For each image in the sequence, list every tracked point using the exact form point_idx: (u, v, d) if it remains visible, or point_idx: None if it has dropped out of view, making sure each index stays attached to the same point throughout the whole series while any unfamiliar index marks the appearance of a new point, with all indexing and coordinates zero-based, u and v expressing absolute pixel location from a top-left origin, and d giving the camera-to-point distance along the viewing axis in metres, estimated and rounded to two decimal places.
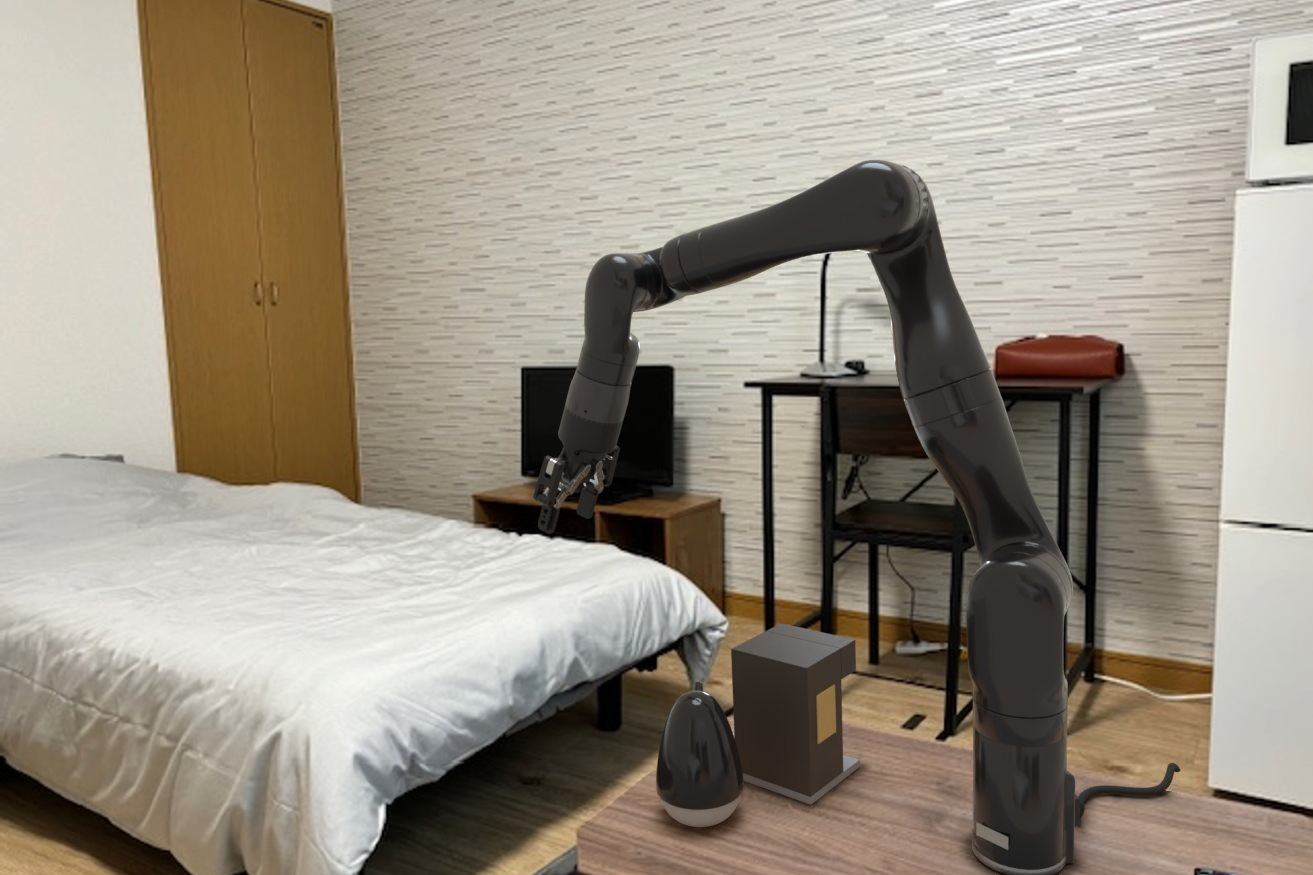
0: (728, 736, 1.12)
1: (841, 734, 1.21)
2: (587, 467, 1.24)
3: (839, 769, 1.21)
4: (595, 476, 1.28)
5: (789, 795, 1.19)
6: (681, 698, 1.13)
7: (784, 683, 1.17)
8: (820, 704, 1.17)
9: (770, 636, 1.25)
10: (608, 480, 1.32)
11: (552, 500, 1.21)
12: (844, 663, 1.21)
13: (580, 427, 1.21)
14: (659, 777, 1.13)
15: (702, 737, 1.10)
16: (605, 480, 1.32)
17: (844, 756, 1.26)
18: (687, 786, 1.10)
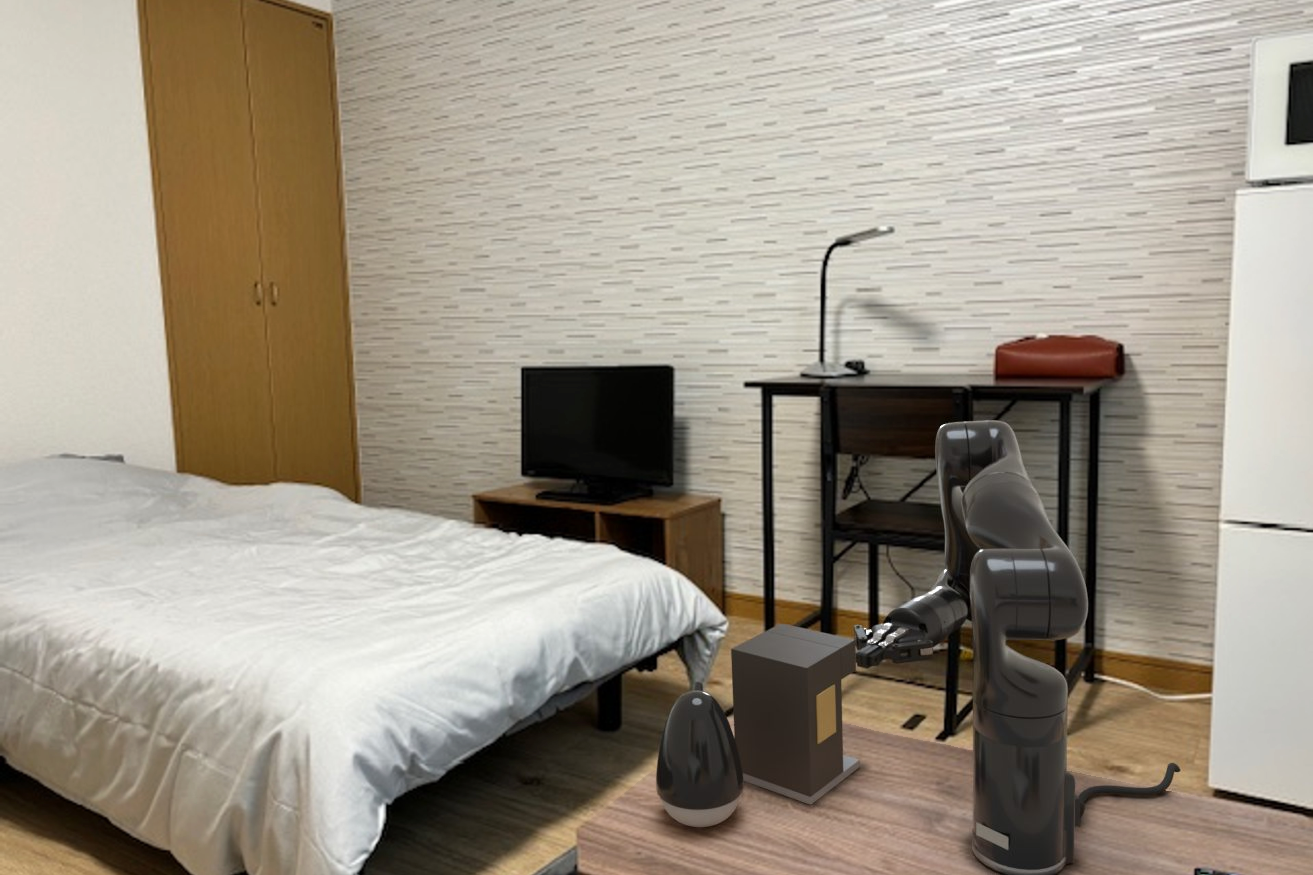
0: (728, 736, 1.12)
1: (841, 734, 1.21)
2: (888, 623, 1.44)
3: (839, 769, 1.21)
4: None
5: (789, 795, 1.19)
6: (681, 698, 1.13)
7: (784, 683, 1.17)
8: (820, 704, 1.17)
9: (770, 636, 1.25)
10: (898, 644, 1.37)
11: (864, 637, 1.41)
12: (844, 663, 1.21)
13: None
14: (659, 777, 1.13)
15: (702, 737, 1.10)
16: None
17: (844, 756, 1.26)
18: (687, 785, 1.10)
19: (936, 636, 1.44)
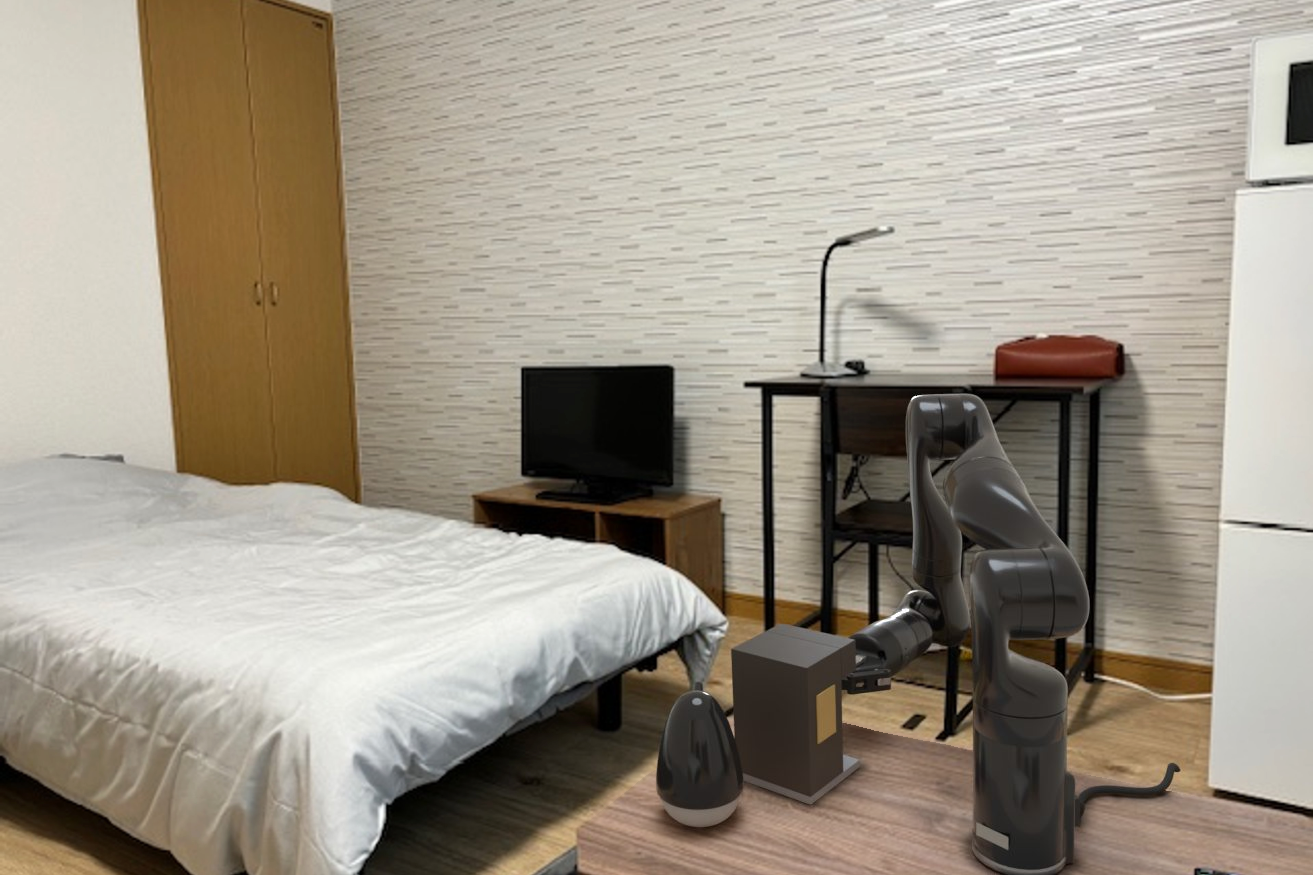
0: (728, 736, 1.12)
1: (841, 734, 1.21)
2: None
3: (839, 769, 1.21)
4: None
5: (789, 795, 1.19)
6: (681, 698, 1.13)
7: (784, 683, 1.17)
8: (820, 704, 1.17)
9: (770, 636, 1.25)
10: (853, 673, 1.28)
11: None
12: (844, 663, 1.21)
13: None
14: (659, 777, 1.13)
15: (702, 737, 1.10)
16: None
17: (844, 756, 1.26)
18: (687, 785, 1.10)
19: (896, 663, 1.35)
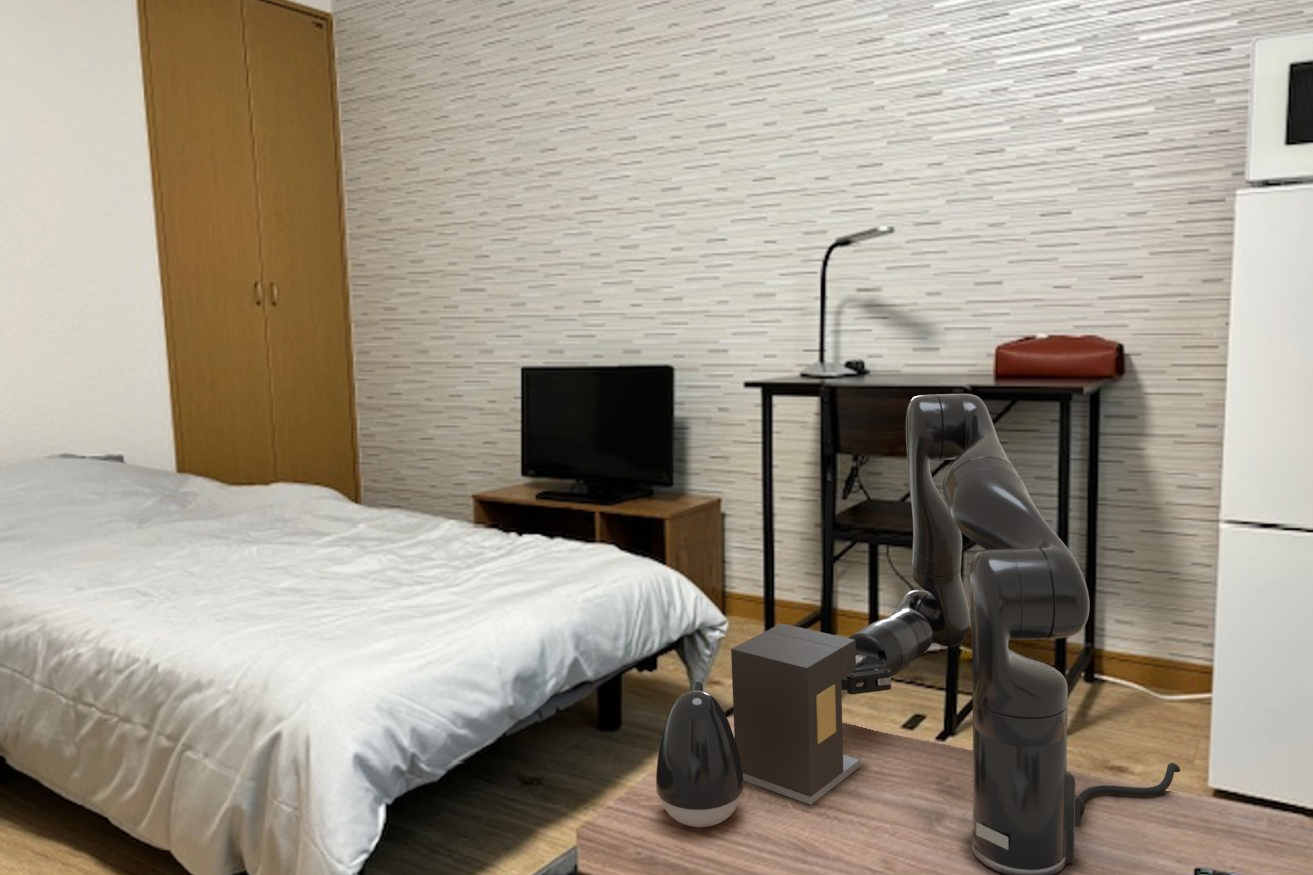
0: (728, 736, 1.12)
1: (841, 734, 1.21)
2: None
3: (839, 769, 1.21)
4: None
5: (789, 795, 1.19)
6: (681, 698, 1.13)
7: (784, 683, 1.17)
8: (820, 704, 1.17)
9: (770, 636, 1.25)
10: (853, 673, 1.28)
11: None
12: (844, 663, 1.21)
13: None
14: (659, 777, 1.13)
15: (702, 737, 1.10)
16: (848, 675, 1.28)
17: (844, 756, 1.26)
18: (687, 785, 1.10)
19: (896, 663, 1.35)
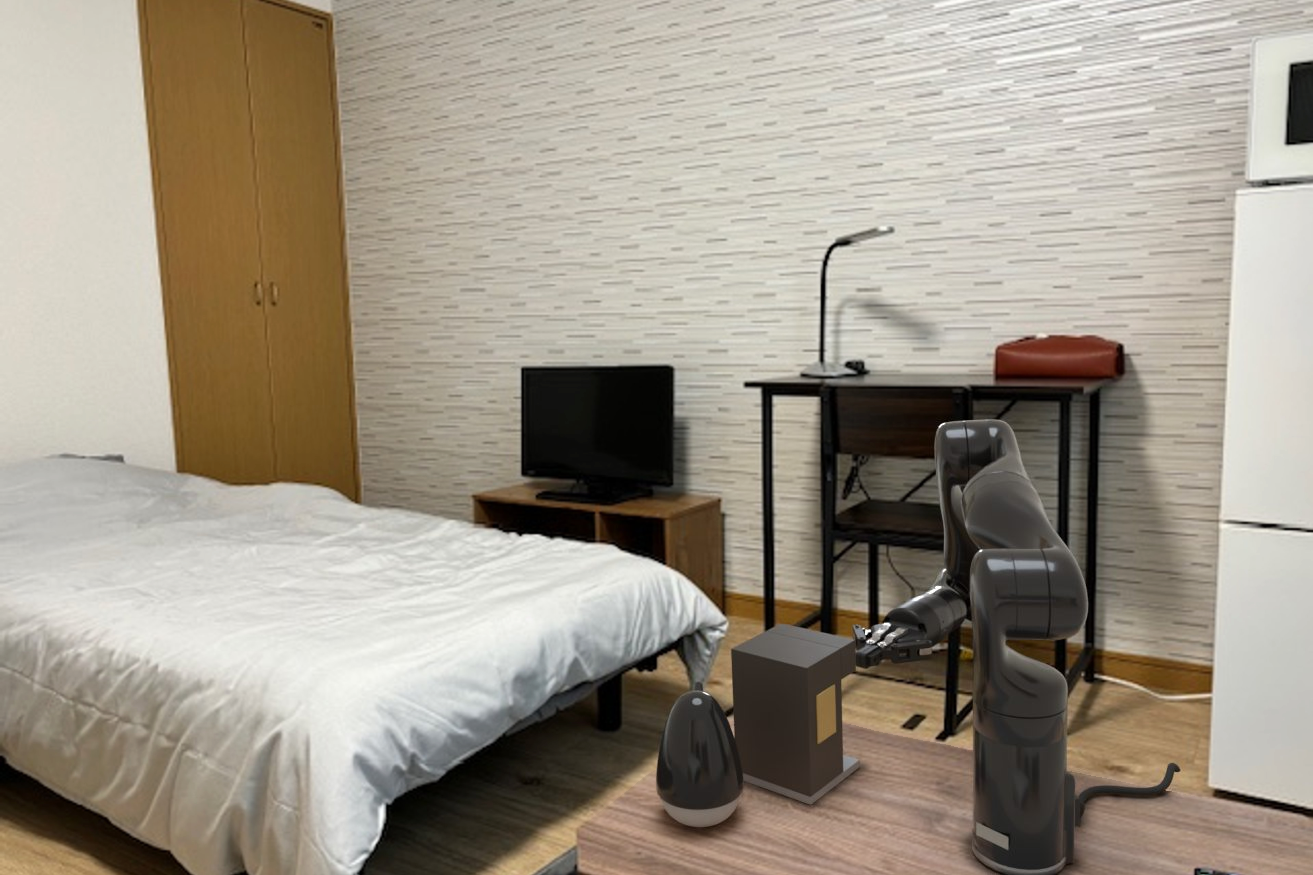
0: (728, 736, 1.12)
1: (841, 734, 1.21)
2: (887, 623, 1.43)
3: (839, 769, 1.21)
4: None
5: (789, 795, 1.19)
6: (681, 698, 1.13)
7: (784, 683, 1.17)
8: (820, 704, 1.17)
9: (770, 636, 1.25)
10: (897, 644, 1.37)
11: (863, 637, 1.41)
12: (844, 663, 1.21)
13: None
14: (659, 777, 1.13)
15: (702, 737, 1.10)
16: None
17: (844, 756, 1.26)
18: (687, 785, 1.10)
19: (935, 636, 1.44)
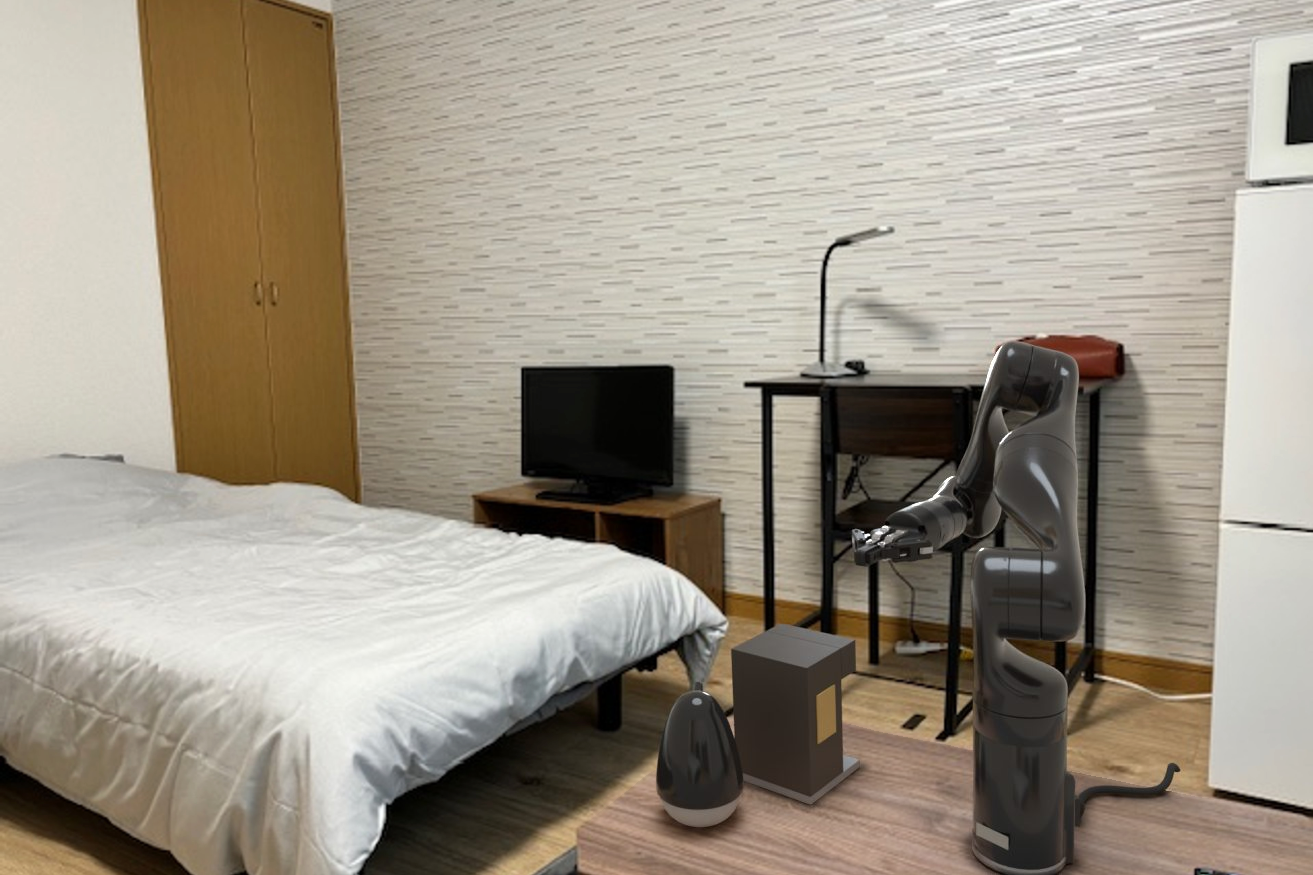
0: (728, 736, 1.12)
1: (841, 734, 1.21)
2: (886, 526, 1.41)
3: (839, 769, 1.21)
4: None
5: (789, 795, 1.19)
6: (681, 698, 1.13)
7: (784, 683, 1.17)
8: (820, 704, 1.17)
9: (770, 636, 1.25)
10: (897, 543, 1.35)
11: (863, 538, 1.38)
12: (844, 663, 1.21)
13: None
14: (659, 777, 1.13)
15: (702, 737, 1.10)
16: None
17: (844, 756, 1.26)
18: (687, 785, 1.10)
19: (935, 539, 1.42)
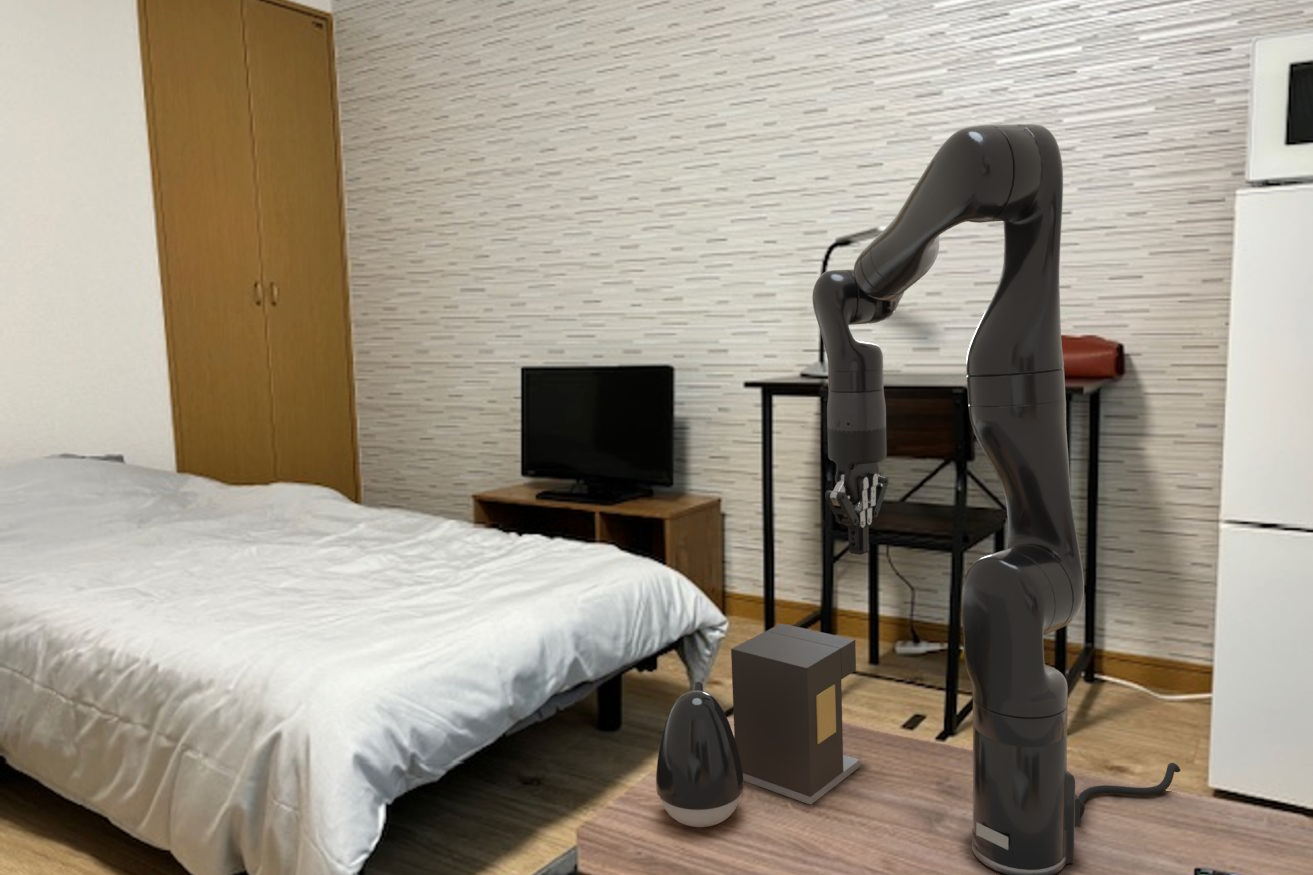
0: (728, 736, 1.12)
1: (841, 734, 1.21)
2: (865, 479, 1.28)
3: (839, 769, 1.21)
4: (869, 493, 1.30)
5: (789, 795, 1.19)
6: (681, 698, 1.13)
7: (784, 683, 1.17)
8: (820, 704, 1.17)
9: (770, 636, 1.25)
10: (875, 509, 1.32)
11: (856, 518, 1.28)
12: (844, 663, 1.21)
13: (847, 440, 1.26)
14: (659, 777, 1.13)
15: (702, 737, 1.10)
16: (871, 511, 1.32)
17: (844, 756, 1.26)
18: (687, 785, 1.10)
19: None
